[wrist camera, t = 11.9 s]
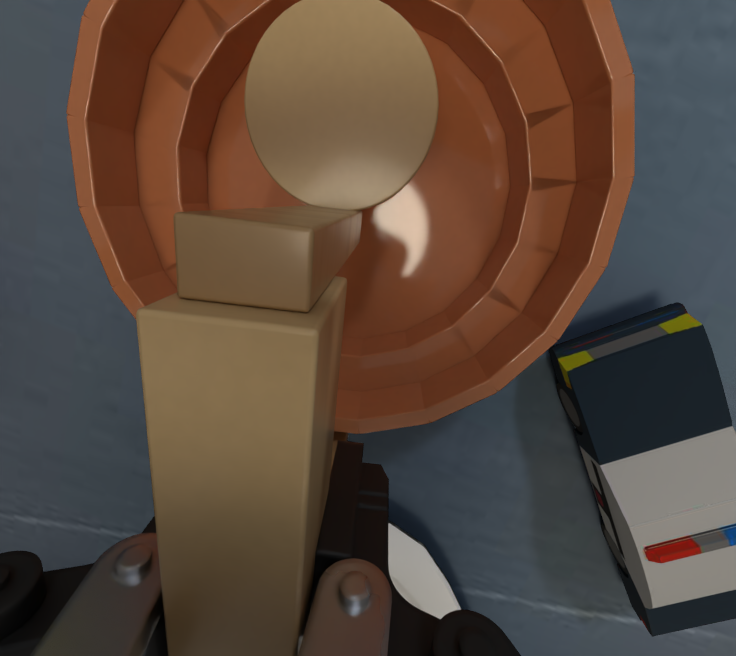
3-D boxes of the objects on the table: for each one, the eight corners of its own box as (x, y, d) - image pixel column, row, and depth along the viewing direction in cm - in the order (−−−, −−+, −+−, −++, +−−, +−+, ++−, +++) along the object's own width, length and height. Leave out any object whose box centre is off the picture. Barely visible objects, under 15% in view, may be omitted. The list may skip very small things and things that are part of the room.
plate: (260, 737, 28) (252, 770, 26) (121, 558, 23) (101, 585, 21) (504, 690, 25) (513, 724, 23) (406, 472, 20) (407, 496, 18)
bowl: (507, 392, 18) (549, 458, 14) (175, 352, 19) (102, 403, 14) (611, -24, 13) (736, -152, 8) (150, -72, 13) (21, -220, 9)
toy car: (654, 293, 16) (761, 330, 12) (713, 559, 21) (809, 665, 16) (537, 336, 17) (593, 386, 13) (617, 583, 22) (681, 690, 17)
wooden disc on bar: (271, 22, 12) (-255, -775, 2) (442, 40, 12) (689, -712, 2) (263, 442, 16) (91, 772, 7) (383, 457, 16) (375, 811, 7)
